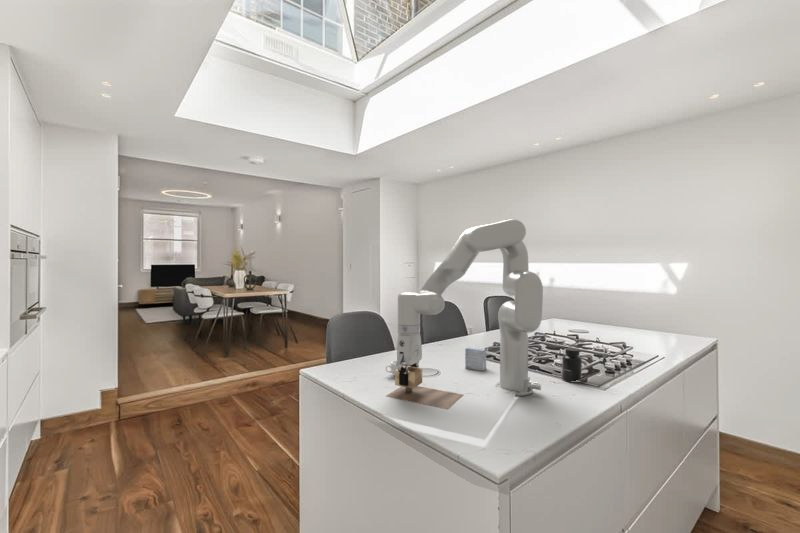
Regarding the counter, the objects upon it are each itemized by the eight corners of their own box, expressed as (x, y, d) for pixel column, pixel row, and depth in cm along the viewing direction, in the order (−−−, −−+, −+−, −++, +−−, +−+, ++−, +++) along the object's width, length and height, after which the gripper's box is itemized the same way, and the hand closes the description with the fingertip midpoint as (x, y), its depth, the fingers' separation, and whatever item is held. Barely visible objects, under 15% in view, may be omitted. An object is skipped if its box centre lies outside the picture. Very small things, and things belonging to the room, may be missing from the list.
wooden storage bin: (422, 382, 127) (422, 368, 127) (413, 388, 121) (413, 373, 121) (404, 379, 131) (404, 365, 131) (395, 385, 125) (395, 370, 125)
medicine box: (486, 368, 159) (486, 348, 159) (482, 371, 155) (482, 350, 155) (469, 365, 163) (469, 346, 163) (465, 368, 159) (465, 348, 159)
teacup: (407, 372, 154) (407, 359, 154) (412, 377, 146) (412, 364, 146) (383, 373, 151) (383, 360, 151) (387, 379, 144) (387, 365, 144)
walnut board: (463, 399, 124) (463, 394, 124) (447, 414, 112) (447, 409, 112) (405, 387, 135) (405, 383, 135) (385, 400, 122) (385, 396, 122)
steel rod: (413, 391, 127) (413, 370, 126) (410, 393, 124) (410, 372, 124) (407, 390, 128) (407, 369, 128) (403, 392, 126) (403, 371, 126)
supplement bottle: (562, 381, 142) (562, 350, 141) (561, 376, 148) (562, 346, 148) (582, 384, 139) (582, 352, 139) (580, 378, 145) (581, 348, 145)
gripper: (406, 334, 116) (406, 391, 117) (429, 326, 131) (429, 376, 132) (385, 332, 120) (386, 387, 120) (410, 324, 135) (410, 373, 135)
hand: (408, 381), depth 126 cm, fingers closed on wooden storage bin, 6 cm apart
